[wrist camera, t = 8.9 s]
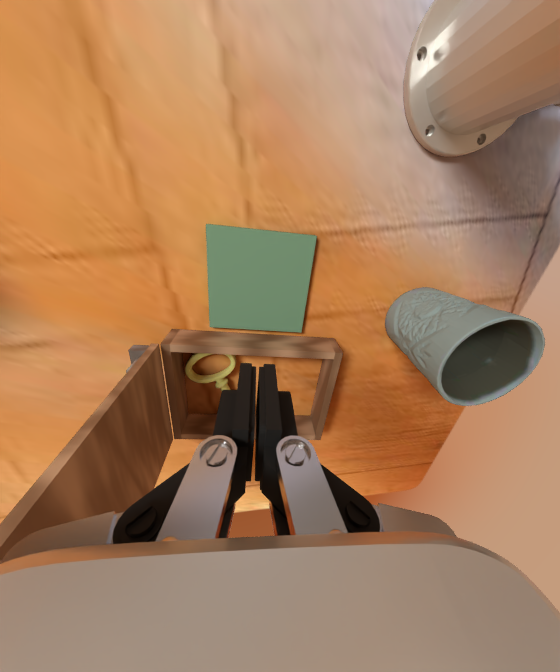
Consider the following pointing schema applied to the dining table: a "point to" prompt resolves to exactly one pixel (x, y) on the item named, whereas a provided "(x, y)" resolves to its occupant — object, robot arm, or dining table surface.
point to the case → (150, 428)
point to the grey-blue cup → (464, 344)
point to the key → (217, 377)
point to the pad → (258, 278)
